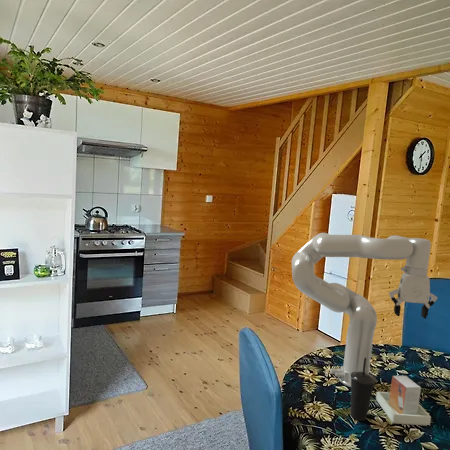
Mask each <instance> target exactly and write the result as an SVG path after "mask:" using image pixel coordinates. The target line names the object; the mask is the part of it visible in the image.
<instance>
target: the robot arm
mask: <svg viewBox="0 0 450 450" xmlns="http://www.w3.org/2000/svg"><path fill="white" fill-rule="evenodd" d="M431 246H432V242H431V240H430V239H427V238H421V237H406V236H403V235H397V234H396V235H394V234H393V235H390V236H388V237H387V238H377V237H370V236H367V235H364V234H363V235H362V234H361V235H360V234H329V233H327V232H320V233H318V234H316V235H315V236H314V237H312V238H311V240H309V241H308V242H307V243H306V244H304V245H303V246H302V247H301V248H300V249H299V250H298V251H296V252H295V253H294V255H293V256H292V258H291V276H292V282H293V283H294V286H295V288H296V289H297V290H298V291H299V292H301V293H302V294H303V295H306V297H308V298H310V299H312V300H313V301H315V302H317V303H319V304H320V305H322V306H323V307H325V308H326V309H329V310H330V311H332V312H334V313H340V314H341V313H344V314H346V315H348V317H349V322H348V327H347V331H346V337H345V338H346V341H345V348H344V356H343V357H344V358H343V365H341V366H340V368H330V369H329V370H330V371H329V372H330V374H331V375H334V376H335V377H337V379H338V381H339V382H340V383H342V384H343V385H344V386H346V387H348V388H351V373H352V372H363V364H364V358H366V366H365V373H368V374H370V367H371V359H372V349H373V344H374V343H373V341H374V335H375V330H376V327H377V322H378V314H377V312H376V310H375V308H374V307H373V305H372V304H371V303H370V301H369V300H368V299H367V298H366V297H364V296H363V295H361V294H359V293H357V292H355V291H354V290H352V289H351V288H348V287H346V286H345V285H344V284H343V285H342V284H341V283H338V282H328V281H326V280H325V279H323V278H321V277H318V276H316V274H315V264H316V263H318V262H320V260H321V259H322V258H360V259H362V258H363V259H374V260H386V261H387V260H398V261H399V260H405V265H404V267H403V266H402V267H401V268H400V270H401V272H404V273H402V274H401V277H400V280H399V284H398V288H395V289H394V290H391V291H389V292H388V295H389V297H390V300H391V301H392V302H393V303H394V309H393V313H394V314H395V316H397V317H400V315H401V308H402V307H401V304H402V303H413V304H422V307H421V314H420V317H422V318H423V319H424V320H426V319H427V317H428V315H429V309H430V308H431V307H432V306H433V305H435V302H437V300H438V296H437V295H435V294H433V293H431V283H430V276H428V269H429V262H430V255H431ZM395 295H397V298H395Z"/></svg>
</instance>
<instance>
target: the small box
mask: <svg viewBox="0 0 450 450" xmlns="http://www.w3.org/2000/svg"><path fill="white" fill-rule="evenodd" d="M390 383H391V385H390V391H389V392H390V396H389V405H391V406H392V407H393V408H394V409H395V410H396V411H397V412H398V413H399V414H409V415H417V411H418V405H419V404H420V398H421V390H422V387H421V386H420V385H418V384H417V383H416V382H414V380H412V379H410V378H409V377H408V376H407V375H392V376H391V382H390Z"/></svg>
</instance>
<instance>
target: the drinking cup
mask: <svg viewBox="0 0 450 450" xmlns="http://www.w3.org/2000/svg"><path fill="white" fill-rule="evenodd" d="M365 366H366V358H364V364H363V372H352V373H351V387H350V417H351V419H354V420H356V421H359V422H364V421H366V420H367V415H368V410H369V408H370V403H371V399H372V394H373V389H374V385H375V383H376V378H375V377H374V376H373V375H372V374H370V373H369V374H368V373H365Z"/></svg>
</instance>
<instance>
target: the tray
mask: <svg viewBox="0 0 450 450" xmlns="http://www.w3.org/2000/svg"><path fill="white" fill-rule="evenodd" d="M389 396H390V391H389V392H387V391H376V396H375V400H376V402H377V403H378V405H379V406H380V407H381V409H382V410H383V411H384V413H385V414H386V416H387V417H388V418H389V419H390V422H392V424H396V425H397V424H398V425H399V424H401V425H412V426H413V425H414V426H415V425H416V426H427V425H429V426H431V419H432V416H431V415H430V414H429V413H428V412H427V411H426V410H425V408H424V407H423V406H422V405H421V404H420V403H419V405H418V411H417V415H409V414H399V413H398V412H397V411H396V410H395V409H394V408H393V407H392V406H391V405H389ZM429 426H428V427H429Z"/></svg>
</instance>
